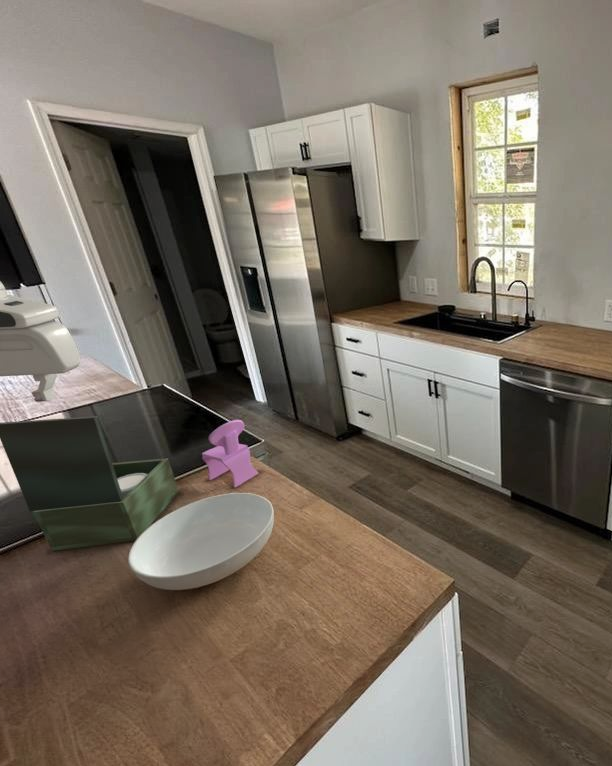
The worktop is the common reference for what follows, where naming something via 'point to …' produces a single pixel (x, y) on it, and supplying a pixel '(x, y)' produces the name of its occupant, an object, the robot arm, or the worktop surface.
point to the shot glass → (130, 482)
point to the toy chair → (229, 453)
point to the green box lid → (60, 462)
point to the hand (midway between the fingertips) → (8, 402)
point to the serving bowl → (202, 541)
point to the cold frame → (112, 510)
